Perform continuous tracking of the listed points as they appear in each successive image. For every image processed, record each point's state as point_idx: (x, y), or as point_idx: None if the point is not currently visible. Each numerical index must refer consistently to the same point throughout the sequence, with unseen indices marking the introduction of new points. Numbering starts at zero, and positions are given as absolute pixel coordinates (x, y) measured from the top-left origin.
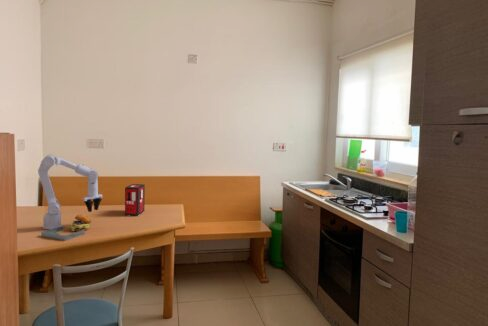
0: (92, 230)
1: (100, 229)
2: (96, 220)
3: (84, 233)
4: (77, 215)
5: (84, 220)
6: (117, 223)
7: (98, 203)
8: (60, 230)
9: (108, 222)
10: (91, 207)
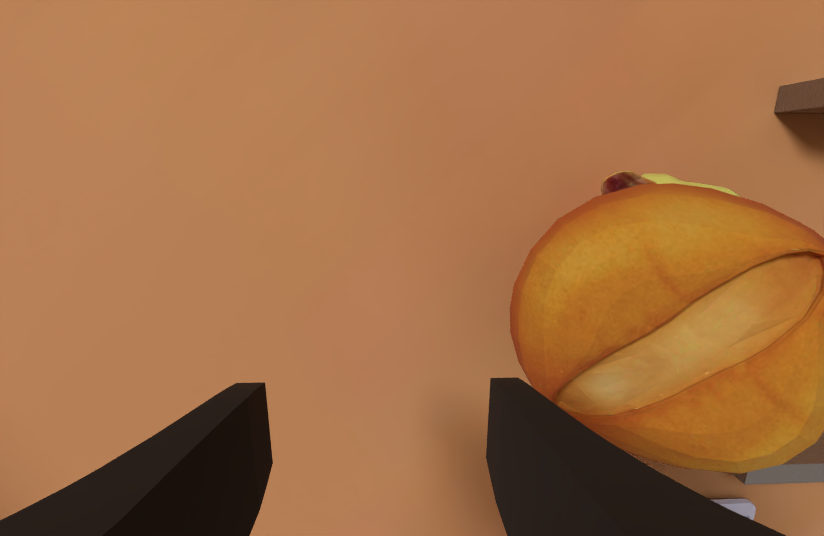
0: (596, 115)
1: (507, 43)
2: None
3: (792, 84)
4: (813, 442)
5: (789, 218)
6: (86, 41)
7: (100, 524)
8: None
9: (133, 219)
10: (571, 442)
